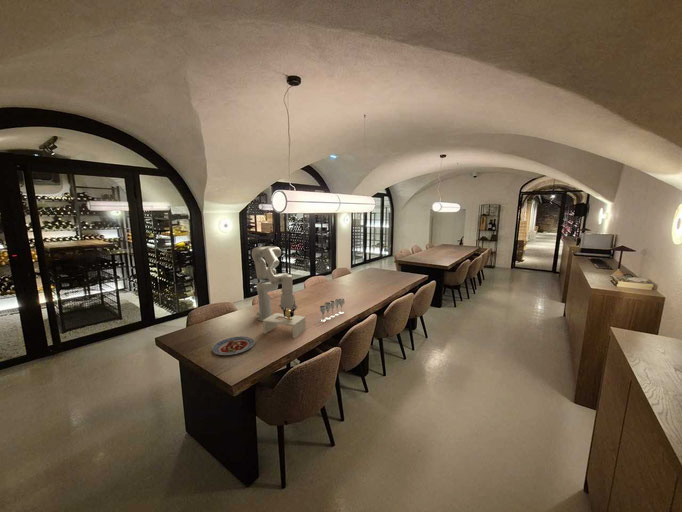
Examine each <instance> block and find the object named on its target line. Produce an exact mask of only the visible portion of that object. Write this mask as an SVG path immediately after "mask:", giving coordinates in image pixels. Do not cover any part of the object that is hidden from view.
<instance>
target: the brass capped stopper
mask: <svg viewBox="0 0 682 512" xmlns="http://www.w3.org/2000/svg"><path fill="white" fill-rule="evenodd" d="M290 312H291V310H290V309H289V308H287V309H286V310H285V317H287V318H288V320H290V317H291V314H290Z"/></svg>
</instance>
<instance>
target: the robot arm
mask: <svg viewBox="0 0 682 512" xmlns="http://www.w3.org/2000/svg"><path fill="white" fill-rule="evenodd" d="M281 255H282V249H280V247H278V246H276V245H267V246H257V247H254V248H252V250H251V257H252V260H253V262H254V266H255V273H256V277H257V279H258V280H261V281H259V282H257V284H256V291H257V296H258V311H257V312H256V314H255V316H258V317H257V320H258V321H262V322H263V320H264V319H266V318H268V317H269V316H271V315H272V303H271V296H270V294H268V293H269V292H274V291H277V290H278V288H279V285H281V290H280V292H281V295H280V304H279V305H278V306H279V307H280V308H281V310H282V311H283V314H284V317H285V310H287V309H290V310H291V312H290V314H291V317H293V316H294V315H295V313H294V312H295V311H296V309H298V305H297V304H296V297H295V293H294V289H293V286H294V285H293V276H292V274H288V272H281V273H277V269H276V268H277V267H278V266H279V264H280V260H279V259H278V258H279V257H281ZM262 280H263V281H262Z"/></svg>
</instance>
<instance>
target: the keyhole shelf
mask: <svg viewBox="0 0 682 512" xmlns="http://www.w3.org/2000/svg"><path fill="white" fill-rule="evenodd" d="M279 318H280V319H279ZM279 325H283V326H289V327H292V339H296V338H297V337H298V336H300V335H302V333H303V332H305V331H306V330H307V328H306V326H307V325H306V316H301V315H296V314H294V316H293V317H290V320H288V318H287V317H284V313H278V312H275V313H273V314H271V316H269V317H268V318H266V319H264V320H263V321H262V327H263V329H262V330H263V334H265V335H266V334H267V333H269V332H270V331H272V330H274V329H275V328H276V327H278V326H279Z"/></svg>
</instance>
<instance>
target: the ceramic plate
mask: <svg viewBox="0 0 682 512" xmlns="http://www.w3.org/2000/svg"><path fill="white" fill-rule="evenodd" d="M254 344H255V340H254V339H253V338H252V337H249V336H243V335H242V336H232V337H227V338H224V339H221V340H220V341H218V342H216V343H215V344H214V345H213V346H212V348H211V350H212V352H213V353H214V354H216V355H221V356H233V355H238V354H240V353H243V352H246V351H248V350H250V349H252V347H253V346H254Z"/></svg>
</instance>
